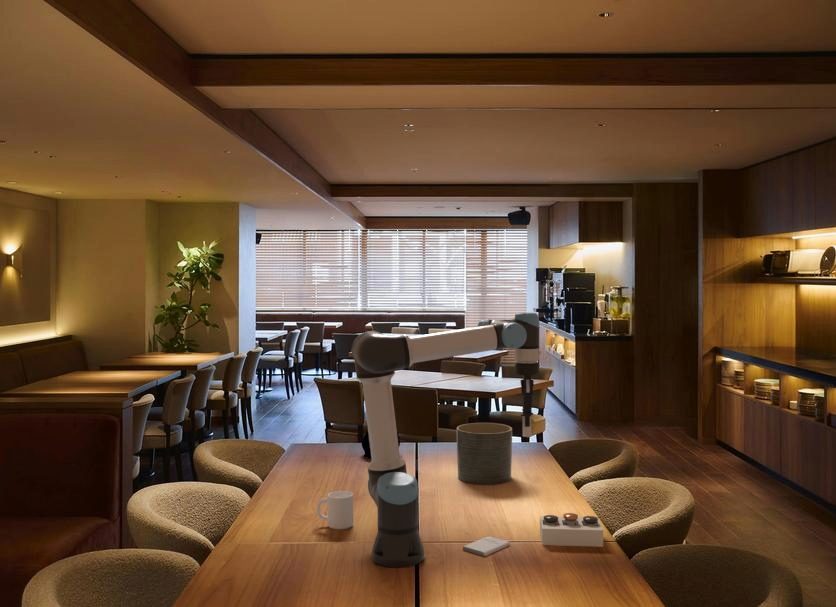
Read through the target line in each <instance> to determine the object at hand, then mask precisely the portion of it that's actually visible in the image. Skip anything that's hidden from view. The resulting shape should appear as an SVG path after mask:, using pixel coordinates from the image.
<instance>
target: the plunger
mask: <svg viewBox="0 0 836 607" xmlns="http://www.w3.org/2000/svg"><path fill="white" fill-rule="evenodd" d="M598 519H599V518H598V517H597V516H594V515H585V516H583V521H584V522H585V526H597V522H598Z"/></svg>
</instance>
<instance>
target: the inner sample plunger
mask: <svg viewBox="0 0 836 607" xmlns="http://www.w3.org/2000/svg"><path fill="white" fill-rule="evenodd" d="M543 516H544V521H545V525H557V521H558V517H559V516H557V515H553V514H546V515H543Z"/></svg>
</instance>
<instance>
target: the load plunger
mask: <svg viewBox="0 0 836 607" xmlns="http://www.w3.org/2000/svg"><path fill="white" fill-rule="evenodd" d="M562 517H563V518H564V519H565V526H577V519H578V517H579V515H578V514H577V513H573V512H565V513H563V515H562Z"/></svg>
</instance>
